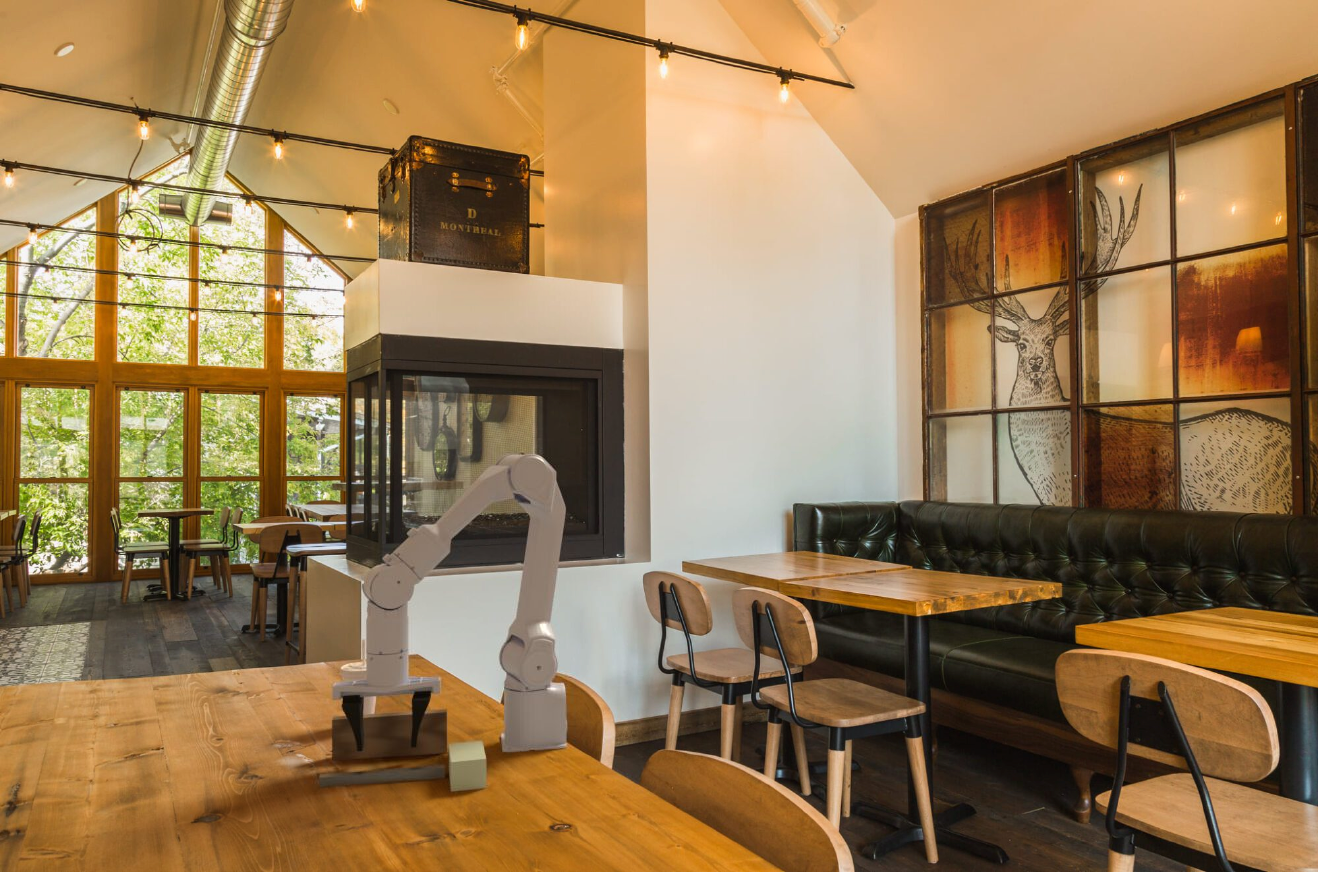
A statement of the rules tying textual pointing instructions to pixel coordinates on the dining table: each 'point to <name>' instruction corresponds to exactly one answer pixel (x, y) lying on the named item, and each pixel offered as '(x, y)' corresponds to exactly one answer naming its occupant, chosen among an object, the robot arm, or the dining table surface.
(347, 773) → the strip
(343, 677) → the smoothie
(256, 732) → the dining table surface
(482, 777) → the cabinet block
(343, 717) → the wall board
